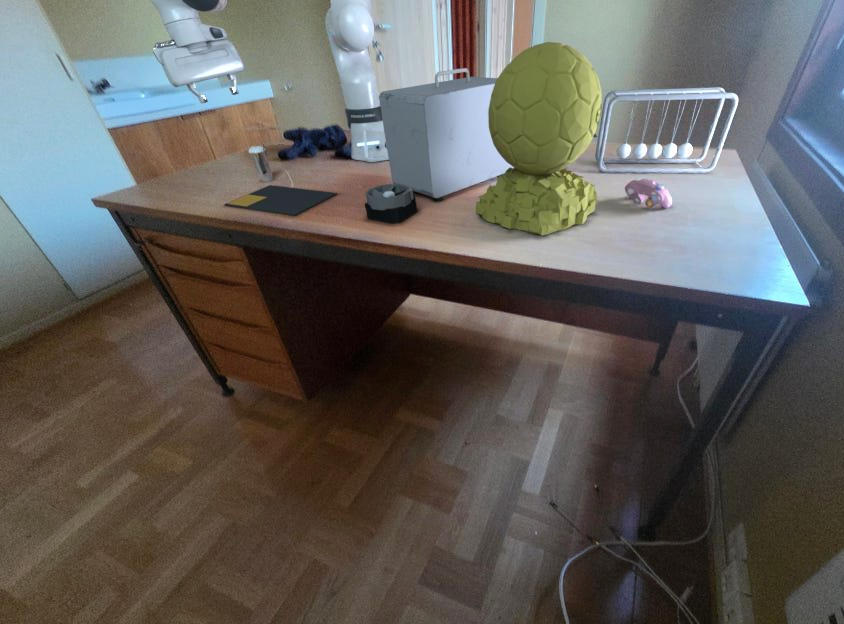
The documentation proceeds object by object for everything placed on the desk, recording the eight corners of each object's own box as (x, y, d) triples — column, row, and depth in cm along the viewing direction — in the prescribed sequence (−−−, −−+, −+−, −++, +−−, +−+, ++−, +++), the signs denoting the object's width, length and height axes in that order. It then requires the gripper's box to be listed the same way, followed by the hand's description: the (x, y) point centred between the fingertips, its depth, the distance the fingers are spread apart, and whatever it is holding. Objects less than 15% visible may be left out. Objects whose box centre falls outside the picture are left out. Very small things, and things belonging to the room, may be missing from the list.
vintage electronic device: (472, 163, 120) (468, 62, 104) (517, 173, 110) (521, 63, 94) (389, 190, 104) (370, 76, 88) (433, 205, 94) (421, 79, 78)
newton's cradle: (596, 173, 108) (609, 96, 96) (593, 162, 115) (605, 90, 104) (713, 173, 103) (742, 92, 91) (702, 162, 110) (727, 86, 99)
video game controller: (623, 207, 92) (620, 182, 86) (635, 194, 92) (634, 168, 87) (661, 219, 86) (660, 193, 80) (674, 205, 86) (675, 178, 81)
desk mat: (337, 194, 104) (336, 192, 103) (295, 216, 93) (294, 214, 93) (270, 186, 112) (269, 184, 111) (224, 205, 101) (224, 203, 101)
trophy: (607, 211, 86) (642, 36, 66) (546, 244, 75) (566, 46, 55) (528, 191, 99) (538, 38, 79) (466, 216, 88) (459, 46, 68)
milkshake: (272, 182, 115) (259, 144, 108) (256, 182, 116) (242, 144, 109) (280, 177, 118) (268, 141, 111) (265, 177, 119) (251, 141, 112)
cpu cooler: (355, 194, 86) (384, 180, 92) (361, 219, 89) (388, 205, 96) (393, 200, 81) (420, 185, 88) (397, 226, 85) (422, 210, 92)
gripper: (152, 42, 95) (188, 107, 104) (230, 28, 105) (257, 89, 114) (145, 46, 99) (180, 109, 107) (221, 32, 109) (248, 90, 118)
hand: (220, 98), depth 111 cm, fingers open, 8 cm apart
